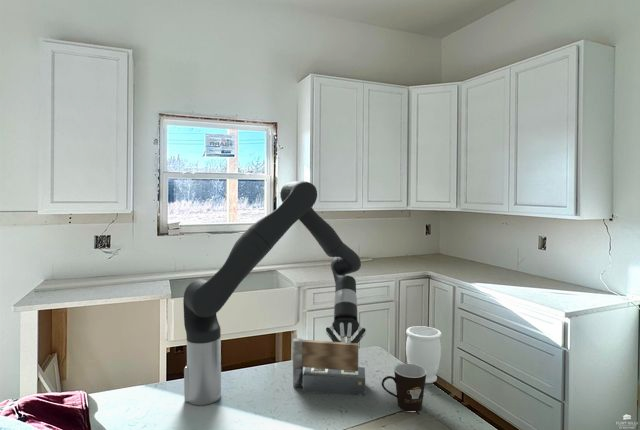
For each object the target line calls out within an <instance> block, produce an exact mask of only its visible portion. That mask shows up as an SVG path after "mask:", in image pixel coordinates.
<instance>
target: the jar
mask: <svg viewBox="0 0 640 430" xmlns="http://www.w3.org/2000/svg"><path fill="white" fill-rule="evenodd" d="M405 333H406V335H407V338H406V344H405V351H406V352H405V354H406V360H407V363H408V364H415V365H419V366H421V367H423V368H424V369H425V370H426V371H427V373H426V381H425V384H432V383H435V382H436V381H437V380H438V377H437V372H438V371H439V367H440V361H441V356H442V347H441V346H442V344H441V340H440V338H441V337H442V332H441V331H440V330H439V329H437V328H434V327H431V326H424V325H415V326H414V325H413V326H410V327H408V328H406V331H405ZM428 381H429V382H428Z"/></svg>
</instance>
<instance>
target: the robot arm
mask: <svg viewBox="0 0 640 430" xmlns="http://www.w3.org/2000/svg"><path fill="white" fill-rule="evenodd" d="M317 198H318V190H317V188H316V186H315V185H314V184H313V183H311V182H308V181H303V180H302V181H300V180H299V181H295V180H294V181H290V182H287V183H285V184H284V185H283V186H282V188H281V189H280V201H281V202H282V203H281V204H280V205H279V206H278V207H277V208H276V209H274V210H273V211H271V212H270V213H268V214H267V215H265V216H264V217H262V218H260V219H259V220H257V221H256V222H254V223H253V224H252V225H250V227H248V229H246V231H244V233H243V234H242V235H241V236H240V237H238V239H237V240H236V241H235V243H234V245H233V246H232V248H231V250H230V252H229V255H228V256H227V259H226V260H225V262H224V264H223V265H222V266H221V267H220V268H219V270H217V272H215V274H214V275H213V276H212V277H211V278H210V279H208V280H207V279H203V278H199V279H195V280H193V281H191V282H190V283H189V284H188V285H187V286H186V288H185V290H184V293H183V298H182V299H183V300H182V301H183V303H182V304H183V322H184V323H183V324H184V329H185V333H186V336H185V337H186V365H185V367H184V368H183V375H184V376H183V381H184V383H183V388H184V389H183V391H184V392H183V393H184V394H183V395H184V396H183V397H184V402H187V403H189V404H191V405H194V406H205V405H209V404H213V403H215V402H217V401H219V400H220V398H221V397H222V363H221V362H222V354H221V353H222V352H221V350H222V344H221V343H222V340H221V338H222V335H221V334H222V333H221V331H222V330H221V325H220V323H219V321H218V317H217V313H218V312H219V311H220V310H221V309H222V308H223V306H225V304H226V303H227V301H228V300H229V299H230V298H231V296H232V294H233V293H234V292H235V290H236V289H237V288H238V286H239V285H240V284H241V283H242V281H243V280H245V278H247V276H249V274H251V272H252V271H253V270H254V268H255V267H256V266H257V265H258V264H259V263H260V262H262V260H263V259H264V258H265V257H266V256H267V254H268V253H270V251H271V250H272V249H273V247H275V246H276V244H277V243H278V242H279V241H280V239H282V238H283V237H284V235H285V234H286V233H287V232H288V231H289V229H290V228H291V227H292V226H293V225H294V224H295V223H297V221H300V222H301V224H303V226H304V227H305V228H306V229H307V230H308V231H309V232H310V234H311V235H312V237H313V238H314V239H315V240H316V242H317V243H318V245H319V246H320V247H321V249H322V250H323V252H324V253H325V254H326V255H327V256H328V257H330V258H333V259H332V260H331V263H330V269H331V272H332V275H333V279H334V284H335V285H334V286H335V287H334V288H335V289H334V291H335V292H334V293H335V295H334V301H333V302H334V303H333V321H332V323H331V326H328V327H326V328H325V333H326V335H327V336H328V337H329V339H330V340H331V342H344V343H358V344H359V342H360V341H361V340H362V339H363V338H364V336H365V335H366V332H367V329H366V328H365V327H362V326H360V322H359V321H358V319H359V318H358V297H357V281H356V279H355V278H354V276H351V275H349V274H353V273H356V272H358V271H359V270H360V269H361V267H362V262H361V258H360V257H359V255H358V254H357V252H356V251H354V250H353V249H351V248H350V247H349V246H348V245H347V244H346V243H344V242H343V241H342V239H341V238H340V236H339V234H338V233H337V232H336V230H335V229H334V228H333V227H332V226H331V225H330V224H329V223H328V222H327V221H326V220H324V218H322V217H321V216H320V215H319V214H318V213H317V212H316V211H315V210H314V208H313V207H314V205H315V203H316V201H317ZM335 333H336V334H337V335H338V336H339V338H340V340H339V338H338V337H337V336H336V335H335ZM356 333H357V334H356ZM355 334H356V335H355ZM354 335H355V337H354V338H353V339H352V337H353V336H354Z"/></svg>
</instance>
